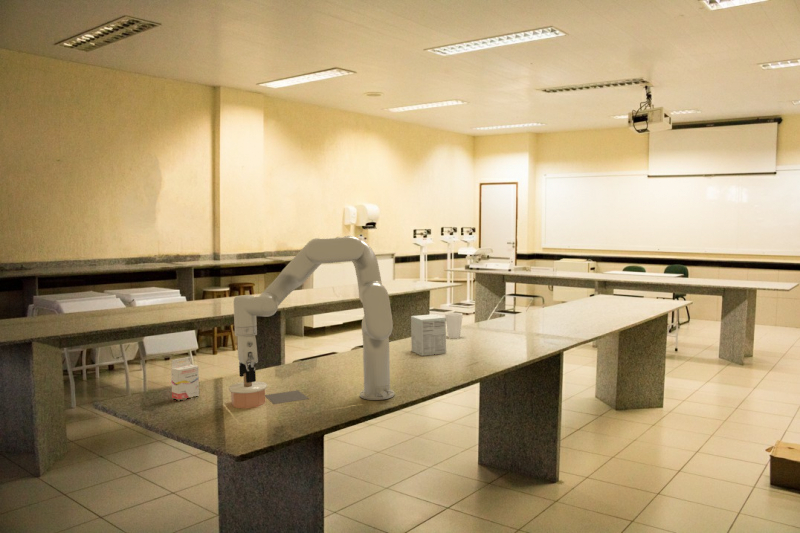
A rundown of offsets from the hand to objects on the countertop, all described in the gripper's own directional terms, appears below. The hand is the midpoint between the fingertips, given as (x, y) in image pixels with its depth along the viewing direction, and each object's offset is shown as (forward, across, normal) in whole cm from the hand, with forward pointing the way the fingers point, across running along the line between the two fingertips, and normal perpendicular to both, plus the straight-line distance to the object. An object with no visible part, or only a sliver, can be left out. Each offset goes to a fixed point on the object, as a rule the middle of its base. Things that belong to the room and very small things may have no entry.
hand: (247, 379), depth 218 cm
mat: (+9, +1, -14) cm, 17 cm away
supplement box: (+10, +43, -98) cm, 107 cm away
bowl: (+9, 0, 0) cm, 9 cm away
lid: (+3, 0, 0) cm, 3 cm away
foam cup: (+10, +69, -129) cm, 147 cm away
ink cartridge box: (+10, +21, +18) cm, 29 cm away
